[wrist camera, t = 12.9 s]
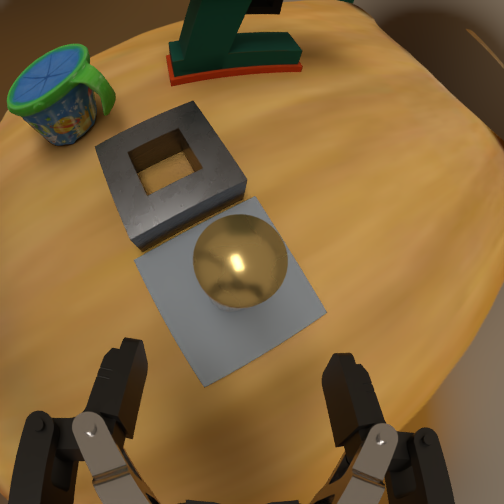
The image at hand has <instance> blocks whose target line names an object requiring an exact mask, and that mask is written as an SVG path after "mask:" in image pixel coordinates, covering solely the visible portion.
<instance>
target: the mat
mask: <svg viewBox="0 0 504 504" xmlns="http://www.w3.org/2000/svg"><path fill="white" fill-rule="evenodd" d="M234 214H245V215H251V216H254V217H257V218H260V219H262V220H264V221H265V222H267V223H268V224H270V225H271V226H272V227H273V228H274V229H275V230H276V228H275V226H274V225H273V223H272V222H271V220H270V218H269V217H268V215H267V214H266V212H265V211H264V209H263V207H262V206H261V204H260V203H259V201H258V200H257V198H256V197H255V196H254V197H252V198H250V199H248V200H246V201H244V202H242V203H240V204H238V205H236V206H234V207H232V208H230V209H228V210H226V211H224V212H222V213H220V214H218V215H216V216H215V217H213V218H211V219H209V220H207V221H205V222H203V223H201V224H199V225H197V226H195V227H193V228H192V229H190V230H188V231H186V232H184V233H182V234H180V235H178V236H177V237H175V238H173V239H171V240H169V241H167V242H166V243H164V244H162V245H160V246H158V247H156V248H155V249H153V250H151V251H149V252H147V253H146V254H144V255H142V256H140V257H139V258H137V259H135V260H134V261H135V264H136V266H137V268H138V270H139V272H140V274H141V276H142V278H143V280H144V282H145V284H146V286H147V288H148V290H149V292H150V294H151V296H152V298H153V300H154V302H155V304H156V306H157V308H158V310H159V312H160V314H161V315H162V317H163V319H164V321H165V323H166V325H167V326H168V328H169V330H170V332H171V334H172V335H173V337H174V339H175V341H176V342H177V344H178V346H179V347H180V349H181V351H182V353H183V354H184V356H185V358H186V359H187V361H188V362H189V364H190V366H191V367H192V369H193V371H194V372H195V374H196V375H197V377H198V378H199V380H200V382H201V383H202V385H203V386H204V387H206V386H208V385H210V384H212V383H214V382H216V381H217V380H219V379H221V378H223V377H225V376H226V375H228V374H230V373H232V372H234V371H235V370H237V369H239V368H241V367H242V366H244V365H246V364H248V363H249V362H251V361H253V360H254V359H256V358H258V357H259V356H261V355H263V354H264V353H266V352H268V351H269V350H271V349H272V348H274V347H276V346H277V345H279V344H280V343H282V342H284V341H285V340H287V339H288V338H290V337H291V336H293V335H294V334H296V333H298V332H299V331H301V330H302V329H304V328H305V327H307V326H308V325H310V324H311V323H313V322H314V321H315V320H317V319H318V318H320V317H321V316H323V315H324V314H326V313H327V312H326V310H325V308H324V307H323V305H322V303H321V301H320V300H319V298H318V296H317V295H316V293H315V291H314V290H313V288H312V286H311V285H310V283H309V281H308V280H307V278H306V276H305V275H304V273H303V271H302V270H301V268H300V267H299V265H298V263H297V262H296V260H295V258H294V257H293V255H292V254H291V252H290V250H289V249H288V247H287V245H286V244H285V242H284V241H283V242H284V244H285V247H286V250H287V255H288V268H287V273H286V276H285V279H284V281H283V283H282V285H281V286H280V288H279V289H278V290H277V292H276V293H275V294H274V295H273V296H272V297H270V298H269V299H267V300H266V301H264V302H262V303H260V304H258V305H255V306H253V307H249V308H242V309H240V310H238V311H234V312H226V311H223V310H220V309H218V308H217V307H216V306H214V304H213V303H212V302H211V301H210V299H209V296H208V295H207V294H206V293H205V292H204V291H203V289H202V288H201V286H200V284H199V282H198V280H197V278H196V275H195V272H194V267H193V252H194V248H195V245H196V242H197V240H198V238H199V236H200V235H201V233H202V232H203V231H204V230H205V229H206V228H207V227H208V226H209V225H210V224H211V223H213V222H214V221H216V220H218V219H220V218H222V217H225V216H228V215H234ZM276 231H277V230H276ZM277 232H278V231H277ZM278 234H279V233H278ZM279 235H280V234H279ZM281 238H282V237H281ZM282 240H283V239H282Z"/></svg>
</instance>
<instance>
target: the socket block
mask: <svg viewBox="0 0 504 504" xmlns="http://www.w3.org/2000/svg"><path fill="white" fill-rule="evenodd" d="M95 149H96V152H97V155H98V158H99V161H100V164H101V167H102V170H103V173H104V175H105V178H106V181H107V184H108V186H109V189H110V192H111V194H112V197H113V199H114V202H115V205H116V207H117V210H118V212H119V214H120V217H121V219H122V222H123V224H124V226H125V229H126V231H127V233H128V236H129V238H130V240H131V241H132V242H133V243H134V244H135V245H136V246H137V247H138V248H139V249H140V250H141V251H142V252H143V251H145V250H147V249H149V248H150V247H152V246H154V245H156V244H158V243H159V242H161V241H163V240H165V239H167V238H169V237H170V236H172V235H174V234H176V233H178V232H180V231H182V230H183V229H185V228H187V227H189V226H191V225H193V224H195V223H197V222H199V221H201V220H202V219H204V218H206V217H208V216H210V215H212V214H214V213H216V212H218V211H220V210H222V209H224V208H226V207H228V206H230V205H232V204H234V203H236V202H238V201H240V200H242V199H243V197H244V193H245V188H246V184H247V178H246V177H245V175H244V174H243V172H242V171H241V169H240V168H239V166H238V165H237V163H236V162H235V160H234V159H233V157H232V156H231V154H230V153H229V151H228V150H227V148H226V147H225V145H224V144H223V142H222V141H221V140H220V138H219V137H218V135H217V134H216V132H215V131H214V129H213V128H212V126H211V125H210V124H209V122H208V121H207V119H206V118H205V116H204V115H203V114H202V112H201V111H200V109H199V108H198V106H197V105H196V104H195V102H194V101H191V102H188V103H186V104H183V105H181V106H178V107H176V108H173V109H171V110H168V111H166V112H164V113H161V114H159V115H157V116H154V117H152V118H150V119H148V120H146V121H143V122H141V123H139V124H137V125H135V126H133V127H131V128H129V129H127V130H125V131H123V132H121V133H119V134H117V135H115V136H113V137H111V138H110V139H108V140H106V141H104V142H102V143H100V144H99V145H97V146H95ZM181 151H183V153H184V154H185V156H186V158H187V159H188V161H189V163H190V165H191V166H192V168H193V170H194V171H195V172H194V173H192V174H190V175H188V176H186V177H184V178H182V179H180V180H178V181H176V182H174V183H172V184H170V185H168V186H166V187H164V188H162V189H160V190H158V191H156V192H154V193H152V194H150V195H148V196H147V194H146V191H145V189H144V187H143V185H142V183H141V181H140V178H139V176H138V174H137V173H138V172H140V171H142V170H144V169H146V168H148V167H149V166H151V165H153V164H155V163H157V162H160V161H162V160H164V159H166V158H168V157H170V156H172V155H174V154H176V153H178V152H181Z"/></svg>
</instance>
